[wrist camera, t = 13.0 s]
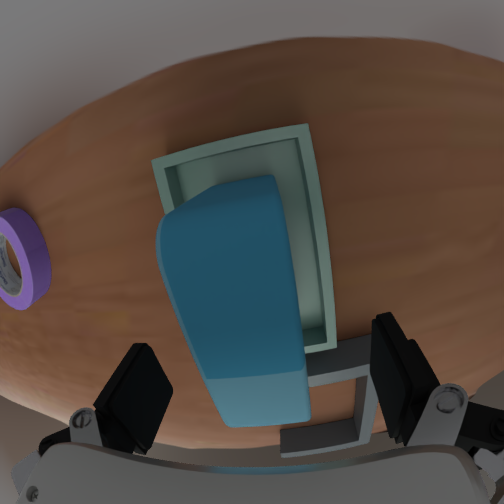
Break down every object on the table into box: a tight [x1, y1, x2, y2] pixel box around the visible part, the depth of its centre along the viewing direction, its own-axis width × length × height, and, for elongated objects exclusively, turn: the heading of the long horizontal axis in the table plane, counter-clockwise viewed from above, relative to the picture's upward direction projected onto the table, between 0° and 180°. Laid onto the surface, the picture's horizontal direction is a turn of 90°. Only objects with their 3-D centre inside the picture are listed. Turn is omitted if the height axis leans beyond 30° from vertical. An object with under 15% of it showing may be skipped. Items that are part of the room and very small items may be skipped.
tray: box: [151, 123, 337, 354], centre depth 20 cm, size 11×18×3 cm, turn 12°
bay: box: [280, 334, 378, 458], centre depth 26 cm, size 12×16×4 cm
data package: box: [156, 174, 311, 427], centre depth 16 cm, size 12×4×12 cm, turn 11°
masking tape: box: [0, 208, 51, 310], centre depth 22 cm, size 12×12×4 cm
